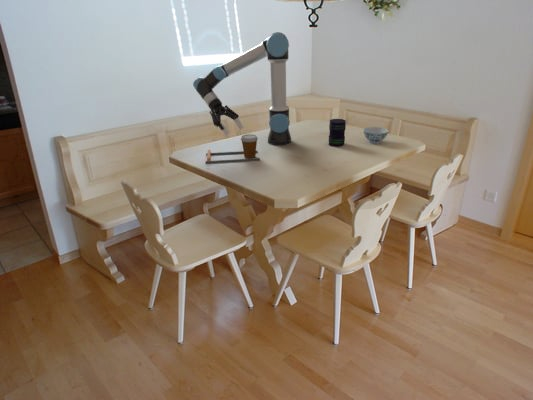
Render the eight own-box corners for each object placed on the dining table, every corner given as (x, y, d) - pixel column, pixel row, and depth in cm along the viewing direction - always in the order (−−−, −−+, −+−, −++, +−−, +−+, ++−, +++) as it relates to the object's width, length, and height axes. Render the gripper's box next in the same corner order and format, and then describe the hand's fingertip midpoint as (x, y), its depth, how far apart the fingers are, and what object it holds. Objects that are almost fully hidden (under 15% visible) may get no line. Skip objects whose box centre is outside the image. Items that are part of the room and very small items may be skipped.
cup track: (257, 152, 233) (257, 147, 232) (259, 160, 219) (259, 155, 218) (206, 154, 230) (206, 149, 229) (205, 163, 217) (205, 158, 215)
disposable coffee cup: (256, 159, 221) (255, 139, 216) (239, 159, 223) (238, 138, 217) (259, 154, 229) (259, 134, 224) (243, 153, 231) (243, 133, 226)
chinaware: (381, 147, 238) (382, 134, 235) (358, 143, 247) (359, 130, 243) (390, 141, 249) (392, 129, 246) (368, 137, 257) (369, 125, 254)
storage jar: (327, 146, 242) (328, 122, 235) (329, 141, 250) (330, 118, 244) (343, 147, 239) (345, 123, 233) (345, 142, 248) (347, 119, 241)
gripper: (223, 102, 238) (244, 130, 237) (195, 110, 219) (217, 140, 218) (229, 94, 233) (251, 122, 232) (201, 101, 214) (224, 132, 213)
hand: (235, 131), depth 225 cm, fingers open, 13 cm apart
